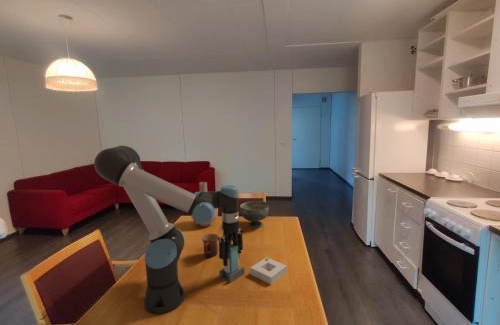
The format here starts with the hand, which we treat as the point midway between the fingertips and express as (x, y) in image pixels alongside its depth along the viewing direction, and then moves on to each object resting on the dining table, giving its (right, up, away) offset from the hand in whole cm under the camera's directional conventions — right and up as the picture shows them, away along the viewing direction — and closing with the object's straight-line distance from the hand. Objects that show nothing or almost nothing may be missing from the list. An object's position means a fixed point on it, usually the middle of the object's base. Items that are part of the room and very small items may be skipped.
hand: (231, 268), depth 117 cm
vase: (-23, +5, +62) cm, 67 cm away
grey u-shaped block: (0, -4, +1) cm, 4 cm away
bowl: (+12, +5, +59) cm, 61 cm away
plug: (0, -3, +1) cm, 3 cm away
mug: (-13, -2, +19) cm, 23 cm away
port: (+17, -3, +2) cm, 17 cm away
